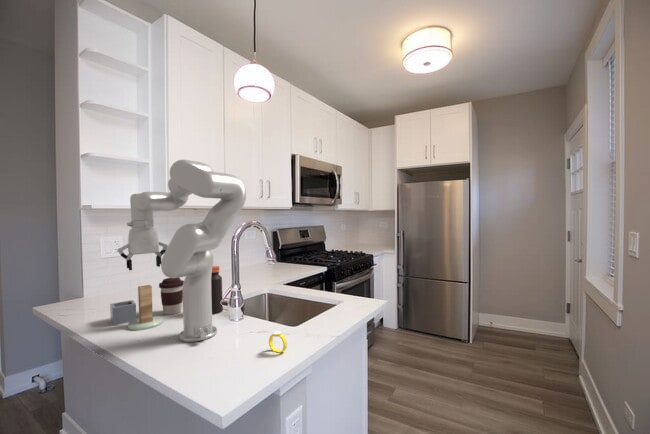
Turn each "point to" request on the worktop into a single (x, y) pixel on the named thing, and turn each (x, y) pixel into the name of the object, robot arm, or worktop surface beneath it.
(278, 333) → the yellow ring
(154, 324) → the mint green dome
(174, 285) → the coffee cup
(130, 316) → the gray open square box
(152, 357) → the worktop surface
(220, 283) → the bottle
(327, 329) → the worktop surface
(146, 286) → the oak peg
